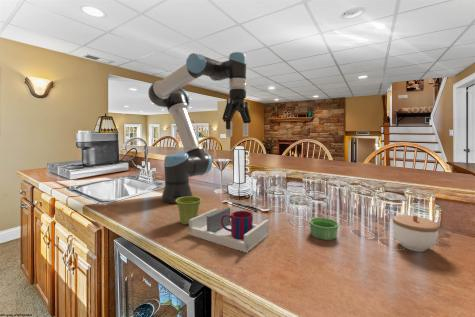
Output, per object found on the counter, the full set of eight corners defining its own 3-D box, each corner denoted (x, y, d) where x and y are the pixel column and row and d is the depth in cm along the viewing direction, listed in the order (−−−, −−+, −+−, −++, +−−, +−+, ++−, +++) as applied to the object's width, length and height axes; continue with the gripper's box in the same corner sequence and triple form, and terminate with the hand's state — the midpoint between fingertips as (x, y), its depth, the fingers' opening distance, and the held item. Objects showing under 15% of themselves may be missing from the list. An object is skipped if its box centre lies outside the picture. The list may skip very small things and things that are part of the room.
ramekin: (305, 229, 81) (306, 217, 80) (331, 229, 80) (332, 217, 80) (313, 241, 72) (314, 227, 71) (342, 241, 71) (343, 227, 71)
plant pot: (192, 215, 94) (192, 194, 93) (206, 222, 87) (206, 199, 86) (171, 221, 87) (170, 199, 86) (185, 229, 80) (184, 204, 80)
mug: (250, 240, 69) (250, 218, 68) (218, 237, 72) (218, 215, 71) (254, 232, 76) (254, 211, 75) (225, 228, 78) (225, 209, 78)
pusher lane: (189, 234, 76) (188, 219, 76) (215, 221, 88) (215, 208, 87) (246, 253, 64) (246, 235, 64) (268, 234, 76) (268, 220, 75)
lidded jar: (447, 255, 63) (450, 221, 62) (410, 256, 62) (413, 223, 61) (414, 237, 74) (417, 209, 73) (382, 238, 73) (384, 210, 72)
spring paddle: (206, 233, 74) (206, 216, 73) (227, 222, 83) (227, 207, 82) (209, 234, 73) (209, 217, 72) (230, 223, 82) (230, 207, 82)
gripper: (228, 83, 92) (228, 137, 94) (258, 92, 113) (257, 136, 115) (213, 85, 96) (214, 136, 98) (244, 94, 117) (244, 136, 119)
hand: (237, 136), depth 106 cm, fingers open, 13 cm apart
